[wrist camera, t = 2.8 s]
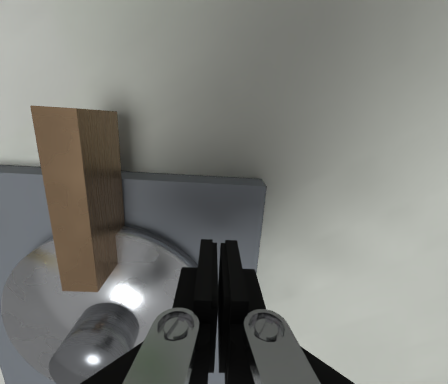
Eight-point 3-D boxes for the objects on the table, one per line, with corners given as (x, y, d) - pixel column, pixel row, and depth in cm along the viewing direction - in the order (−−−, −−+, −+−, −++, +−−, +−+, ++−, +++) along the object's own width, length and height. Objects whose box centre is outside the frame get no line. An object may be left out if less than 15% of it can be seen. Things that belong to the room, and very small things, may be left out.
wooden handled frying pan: (-28, 102, 13) (-150, 93, 9) (224, 118, 14) (226, 117, 9) (37, 375, 19) (-15, 449, 15) (208, 378, 20) (206, 450, 15)
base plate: (-27, 163, 16) (-161, 187, 10) (261, 179, 17) (283, 209, 11) (27, 373, 22) (-40, 463, 16) (239, 377, 23) (246, 464, 17)
